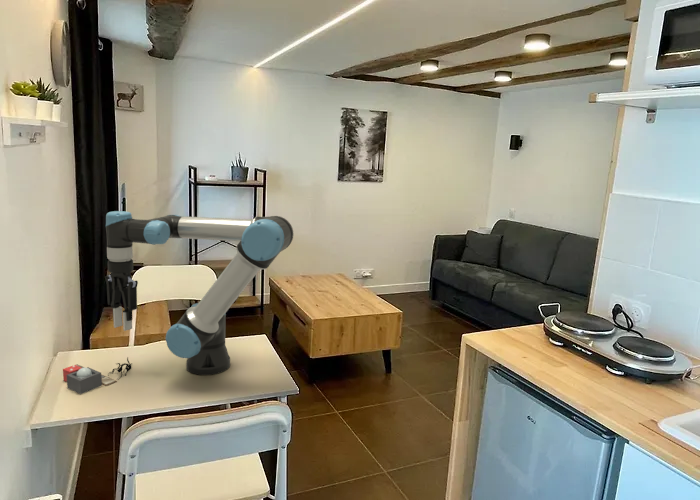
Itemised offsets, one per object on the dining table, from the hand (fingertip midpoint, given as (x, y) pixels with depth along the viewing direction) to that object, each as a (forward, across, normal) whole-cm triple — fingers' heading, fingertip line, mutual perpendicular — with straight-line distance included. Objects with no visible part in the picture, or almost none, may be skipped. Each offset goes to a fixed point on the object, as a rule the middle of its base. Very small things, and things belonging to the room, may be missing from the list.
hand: (123, 327), depth 161 cm
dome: (+15, +2, +13) cm, 20 cm away
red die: (+17, +10, +12) cm, 23 cm away
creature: (+17, +1, +1) cm, 17 cm away
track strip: (+17, +8, +7) cm, 20 cm away
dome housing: (+17, +2, +13) cm, 21 cm away
